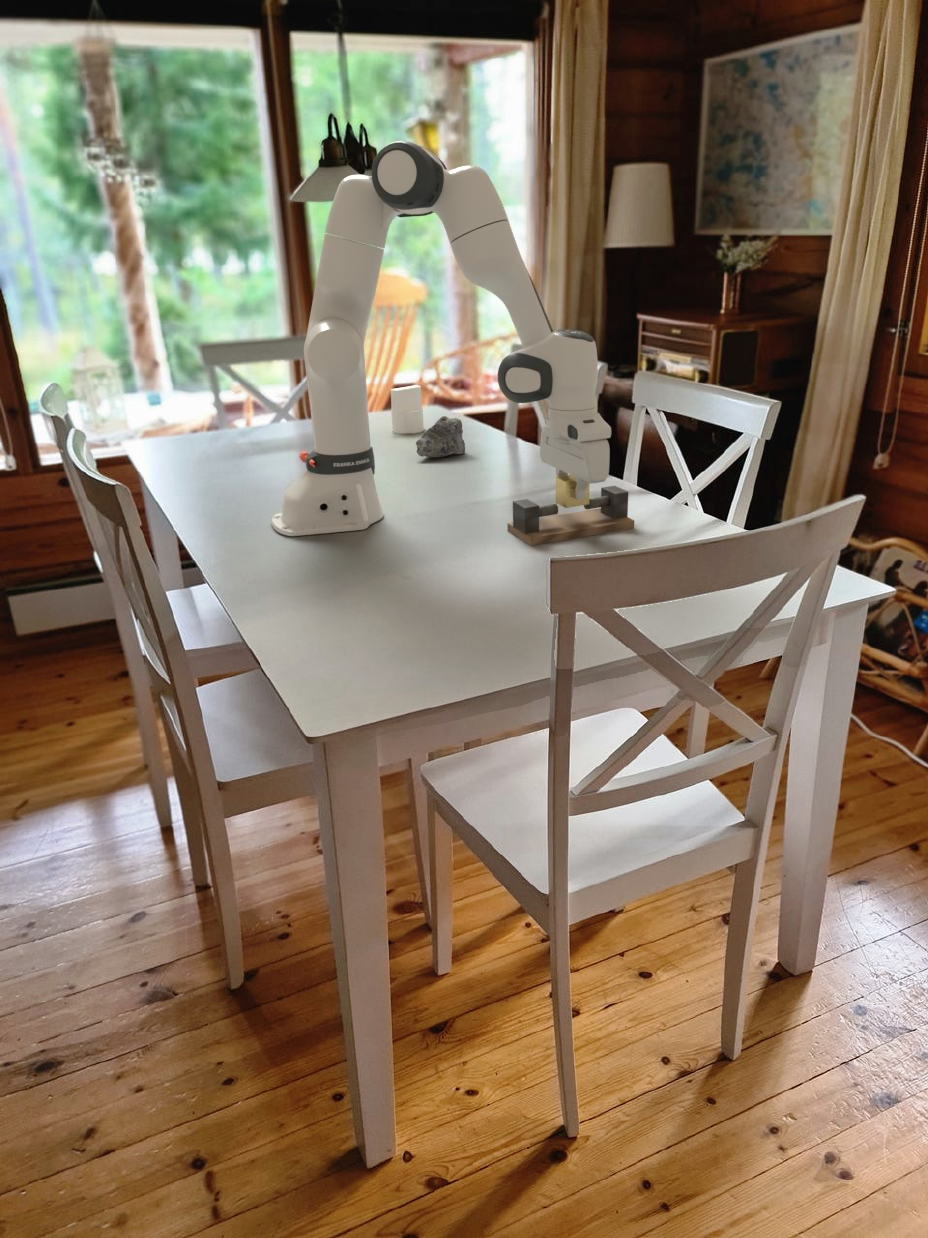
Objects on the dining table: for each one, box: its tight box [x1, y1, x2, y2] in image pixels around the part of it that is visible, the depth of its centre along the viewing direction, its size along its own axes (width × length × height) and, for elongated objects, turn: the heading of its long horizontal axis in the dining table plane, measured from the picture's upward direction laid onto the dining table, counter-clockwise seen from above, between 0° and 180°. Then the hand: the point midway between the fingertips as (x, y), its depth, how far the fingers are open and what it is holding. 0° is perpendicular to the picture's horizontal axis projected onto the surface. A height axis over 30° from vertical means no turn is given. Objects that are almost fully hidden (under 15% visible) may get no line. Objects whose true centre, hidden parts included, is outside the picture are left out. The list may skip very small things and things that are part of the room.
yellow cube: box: [555, 474, 591, 509], centre depth 174 cm, size 5×4×5 cm
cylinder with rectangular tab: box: [390, 384, 425, 434], centre depth 262 cm, size 9×9×12 cm
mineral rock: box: [415, 415, 466, 458], centre depth 233 cm, size 13×11×10 cm
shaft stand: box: [507, 485, 635, 547], centre depth 176 cm, size 22×10×6 cm, turn 113°
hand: (572, 495), depth 174 cm, fingers closed on yellow cube, 4 cm apart
